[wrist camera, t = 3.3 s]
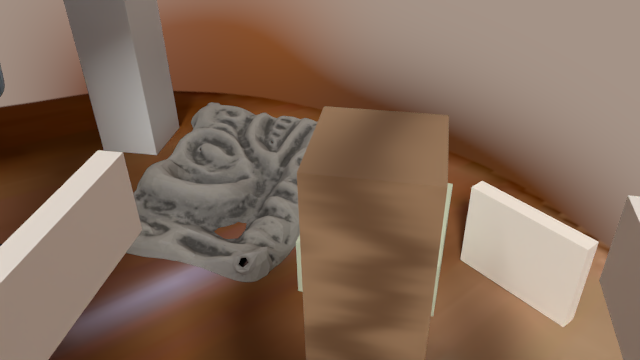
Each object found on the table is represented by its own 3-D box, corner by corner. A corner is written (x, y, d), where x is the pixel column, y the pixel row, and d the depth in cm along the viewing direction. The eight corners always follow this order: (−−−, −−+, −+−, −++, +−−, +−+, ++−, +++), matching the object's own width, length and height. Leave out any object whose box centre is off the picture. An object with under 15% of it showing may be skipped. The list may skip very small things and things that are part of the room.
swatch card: (563, 327, 39) (588, 250, 35) (460, 259, 45) (471, 187, 41) (576, 315, 40) (602, 239, 36) (473, 251, 46) (485, 178, 42)
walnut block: (309, 430, 33) (296, 172, 23) (328, 348, 38) (324, 106, 28) (413, 448, 32) (447, 186, 22) (419, 362, 37) (448, 115, 27)
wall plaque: (207, 119, 67) (203, 88, 64) (363, 146, 61) (363, 113, 59) (67, 242, 48) (54, 205, 46) (270, 298, 43) (266, 258, 41)
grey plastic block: (103, 150, 60) (56, -26, 50) (130, 123, 65) (91, -42, 55) (156, 155, 59) (119, -23, 49) (179, 127, 64) (149, -40, 54)
